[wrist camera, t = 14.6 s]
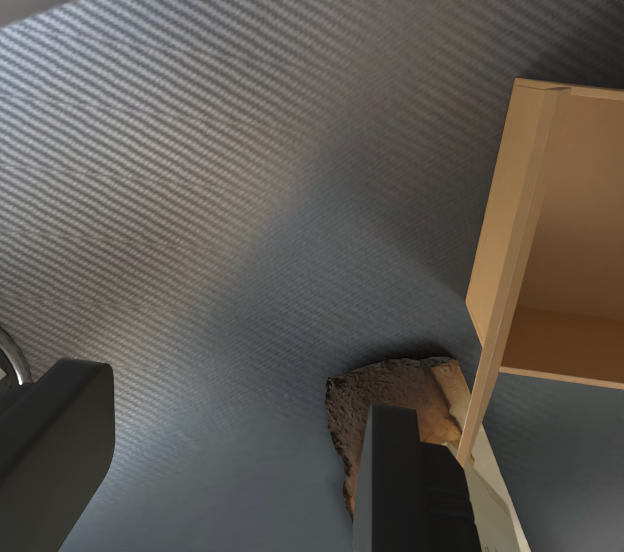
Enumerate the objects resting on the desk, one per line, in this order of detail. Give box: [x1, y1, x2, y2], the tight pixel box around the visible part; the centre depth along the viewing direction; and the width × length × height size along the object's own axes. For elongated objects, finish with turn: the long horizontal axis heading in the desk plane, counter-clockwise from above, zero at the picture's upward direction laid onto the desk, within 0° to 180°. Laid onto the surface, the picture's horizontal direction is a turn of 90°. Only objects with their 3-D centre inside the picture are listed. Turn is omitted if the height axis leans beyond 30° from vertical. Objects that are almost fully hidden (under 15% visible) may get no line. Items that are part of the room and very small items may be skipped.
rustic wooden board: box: [325, 356, 531, 552], centre depth 36 cm, size 25×10×1 cm, turn 23°
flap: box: [456, 86, 572, 471], centre depth 19 cm, size 7×12×1 cm
